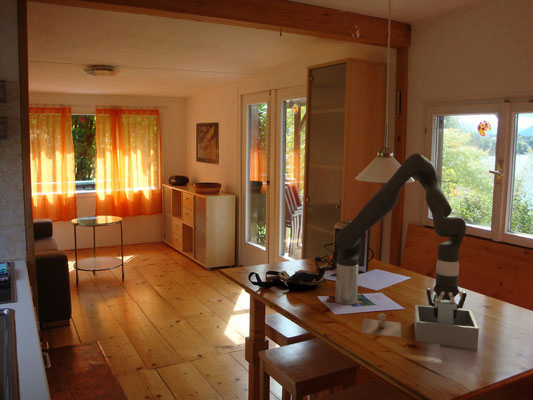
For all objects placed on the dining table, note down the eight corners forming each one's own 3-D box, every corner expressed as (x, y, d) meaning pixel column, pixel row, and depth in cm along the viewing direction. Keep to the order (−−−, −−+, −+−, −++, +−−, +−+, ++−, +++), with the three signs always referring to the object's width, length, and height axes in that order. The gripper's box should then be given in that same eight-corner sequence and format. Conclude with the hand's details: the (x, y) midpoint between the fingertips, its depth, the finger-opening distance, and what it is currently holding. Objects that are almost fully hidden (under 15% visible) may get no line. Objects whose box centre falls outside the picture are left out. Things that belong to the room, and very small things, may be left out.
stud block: (361, 335, 171) (361, 318, 170) (363, 321, 184) (364, 305, 183) (400, 339, 167) (401, 322, 166) (400, 325, 180) (401, 309, 180)
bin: (415, 343, 164) (416, 322, 163) (414, 324, 181) (415, 304, 180) (477, 351, 158) (478, 328, 157) (469, 330, 176) (471, 310, 175)
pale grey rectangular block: (436, 328, 172) (437, 299, 171) (451, 329, 171) (451, 299, 170) (437, 333, 168) (438, 303, 166) (452, 334, 166) (453, 304, 165)
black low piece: (270, 280, 237) (270, 265, 236) (323, 275, 247) (323, 261, 246) (286, 294, 216) (286, 278, 215) (343, 288, 226) (344, 272, 225)
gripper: (467, 271, 168) (464, 316, 171) (425, 267, 172) (423, 312, 174) (470, 276, 161) (467, 324, 163) (426, 273, 165) (424, 319, 167)
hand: (444, 317), depth 169 cm, fingers closed on pale grey rectangular block, 5 cm apart
